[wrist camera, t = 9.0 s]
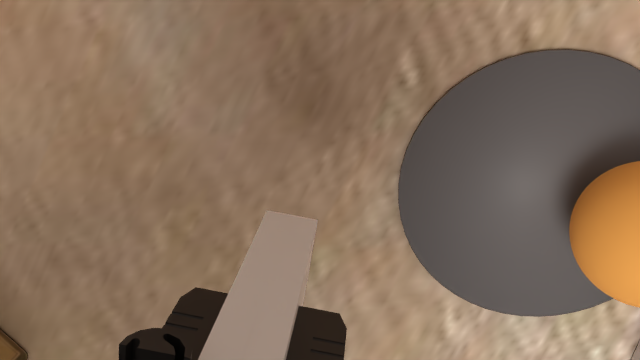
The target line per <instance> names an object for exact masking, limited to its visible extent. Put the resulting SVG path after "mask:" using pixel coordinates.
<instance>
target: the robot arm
mask: <svg viewBox="0 0 640 360" xmlns="http://www.w3.org/2000/svg"><path fill="white" fill-rule="evenodd" d="M317 223H318V220H317V219H312V218H307V217H301V216H296V215H291V214H285V213H280V212H275V211H269V210H266V212H265V214H264V217H263V219H262V221H261V223H260V225H259V228H258V230H257V232H256V234H255V236H254V238H253V241H252V243H251V245H250V247H249V249H248V252H247V254H246V256H245V258H244V260H243V262H242V265H241V267H240V269H239V271H238V273H237V276H236V278H235V280H234V282H233V284H232V287H231V289H230V291H229V293H228V294H227V293H222V292H217V291H212V290H206V289H201V288H194V289H193V290H191V291H190V292H188V293H187V294H185V295H184V296H182V297H181V298H180V299H179V301H178V303H177V304H176V306H175V308H174V309H173V311H172V314H170V316H169V318H168V319H167V321H166V324H165V325H164V326H163V328H162V329H161V328H151V329H145V330H140V331H138V332H135V333H133V334H131V335H129V336H127V337H126V338H125V339H124V340H123V341H122V342H121V343H120V344H119V360H344V351H345V341H346V330H347V328H346V326H345V324H344V322H343V320H342V318H341V316H340V314H339V313H333V312H328V311H323V310H318V309H313V308H307V307H303V303H304V298H305V292H306V286H307V281H308V275H309V269H310V263H311V258H312V252H313V246H314V240H315V234H316V229H317Z"/></svg>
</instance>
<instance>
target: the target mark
mask: <svg viewBox="0 0 640 360" xmlns="http://www.w3.org/2000/svg"><path fill="white" fill-rule="evenodd" d="M636 161H640V70H638V69H636V68H634V67H633V66H631V65H629V64H627V63H624V62H621V61H619V60H616V59H614V58H611V57H609V56H604V55H600V54H596V53H592V52H586V51H577V50H544V51H537V52H530V53H524V54H521V55H517V56H514V57H510V58H506V59H504V60H501V61H499V62H496V63H494V64H491V65H489V66H486V67H484V68H483V69H481V70H479V71H477V72H475V73H474V74H472V75H470V76H468V77H467V78H465V79H464V80H463V81H461V82H460V83H459V84H457V85H456V86H454V87H453V88H452V89H450V90H449V91H448V92H447V93H446V94H445V95H444V96H443V97H442V98H441V99H440V100H439V101H438V102H437V103H436V104H435V105H434V106H433V107H432V109H431V110H430V111H429V112H428V113H427V115H426V116H425V117H424V118H423V120H422V122H421V123H420V125H419V126H418V128H417V130H416V131H415V133H414V135H413V137H412V139H411V141H410V143H409V146H408V148H407V150H406V153H405V157H404V160H403V163H402V167H401V173H400V179H399V209H400V216H401V221H402V225H403V228H404V232H405V235H406V237H407V239H408V241H409V244H410V246H411V248H412V250H413V252H414V253H415V255H416V256H417V258H418V259H419V261H420V263H421V264H422V265H423V266H424V267H425V269H426V270H427V271H428V272H429V273H430V274H431V275H432V276H433V277H434V278H435V279H436V280H437V281H438V282H439V283H440V284H441V285H443V286H444V287H445V288H447V289H448V290H450V291H451V292H452V293H454V294H455V295H457V296H459V297H461V298H463V299H465V300H466V301H468V302H470V303H473V304H475V305H478V306H480V307H483V308H485V309H489V310H493V311H496V312H500V313H504V314H511V315H518V316H538V317H539V316H553V315H561V314H567V313H572V312H577V311H580V310H584V309H587V308H591V307H594V306H596V305H599V304H601V303H604V302H606V301H609V300H611V299H613V298H612V297H610V296H609V295H607V294H605V293H604V292H602V291H601V290H600V289H598V288H597V287H596V286H595V285H594V284H593V283H592V282H591V281H590V280H589V279H588V278H587V277H586V276H585V274H584V273H583V272H582V270H581V269H580V267H579V265H578V263H577V261H576V259H575V257H574V255H573V251H572V248H571V243H570V236H569V225H570V219H571V214H572V211H573V208H574V206H575V204H576V202H577V200H578V198H579V197H580V195H581V193H582V192H583V191H584V190H585V188H586V187H587V186H588V185H589V184H590V183H591V182H592V181H594V180H595V179H596V178H597V177H599V176H600V175H602V174H603V173H605V172H607V171H608V170H610V169H613V168H615V167H617V166H620V165H623V164H627V163H631V162H636Z"/></svg>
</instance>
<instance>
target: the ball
mask: <svg viewBox="0 0 640 360" xmlns="http://www.w3.org/2000/svg"><path fill="white" fill-rule="evenodd" d="M569 236H570V243H571V248H572V251H573V255H574V257H575V259H576V261H577V263H578V265H579V267H580V269H581V270H582V272H583V273H584V274H585V276H586V277H587V278H588V279H589V280H590V281H591V282H592V283H593V284H594V285H595V286H596V287H597V288H598V289H600V290H601V291H602V292H604V293H605V294H607V295H609V296H610V297H612V298H614V299H616V300H618V301H620V302H623V303H625V304H628V305H632V306H635V307H640V161H636V162H631V163H627V164H623V165H620V166H617V167H615V168H613V169H610V170H608V171H607V172H605V173H603V174H602V175H600V176H599V177H597V178H596V179H595V180H594V181H592V182H591V183H590V184H589V185H588V186H587V187H586V188H585V190H584V191H583V192H582V193H581V195H580V197H579V198H578V200H577V202H576V204H575V206H574V208H573V211H572V214H571V219H570V225H569Z"/></svg>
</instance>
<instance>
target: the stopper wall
mask: <svg viewBox="0 0 640 360" xmlns="http://www.w3.org/2000/svg"><path fill="white" fill-rule="evenodd" d="M631 360H640V341H639V343H638V345H637V348H636V350H635V352H634V354H633V356H632V359H631Z"/></svg>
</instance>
